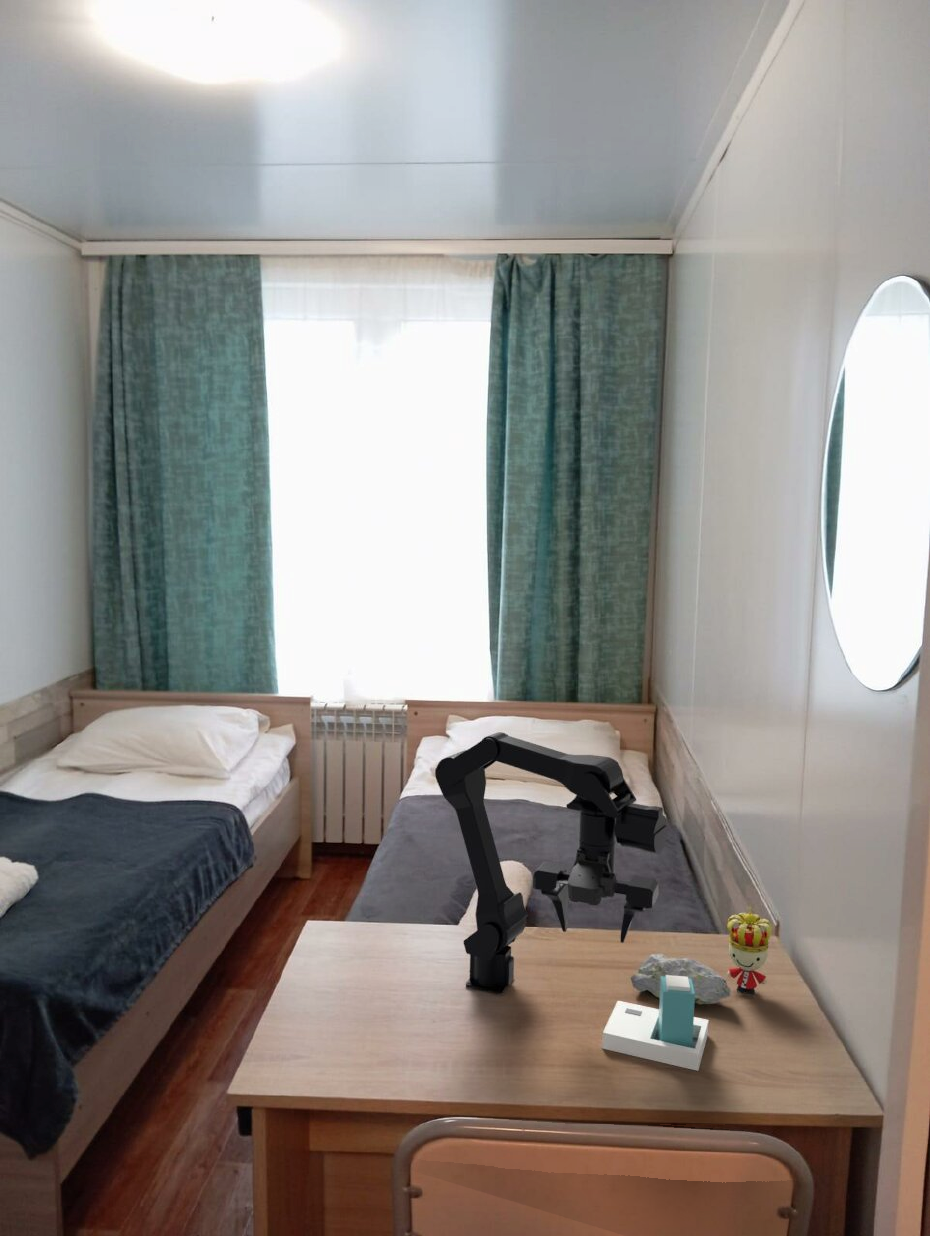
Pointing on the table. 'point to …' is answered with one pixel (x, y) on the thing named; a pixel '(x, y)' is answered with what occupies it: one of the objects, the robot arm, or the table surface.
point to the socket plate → (651, 1037)
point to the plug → (676, 1010)
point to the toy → (748, 949)
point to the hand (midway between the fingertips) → (593, 936)
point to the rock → (703, 978)
